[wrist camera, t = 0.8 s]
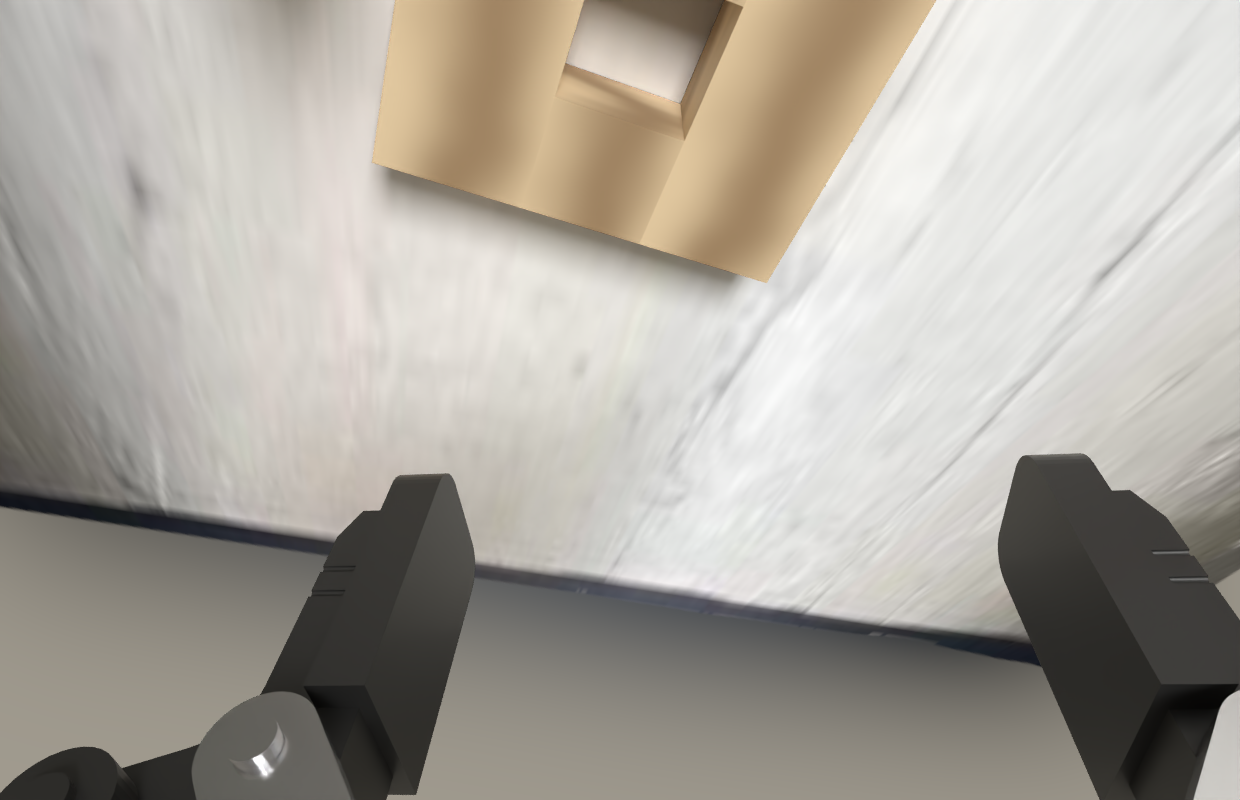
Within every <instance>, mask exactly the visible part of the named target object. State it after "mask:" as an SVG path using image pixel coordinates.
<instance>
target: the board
mask: <svg viewBox="0 0 1240 800" xmlns="http://www.w3.org/2000/svg"><path fill="white" fill-rule="evenodd" d="M935 2H936V0H724V2H723V4H722V6H721V9H720V11H719V13H718V16H717V18H716V21H715V23H714V25H713V28H712V30H711V32H710V35H709V37H708V40H707V42H706V44H705V47H704V49H703V51H702V54H701V56H700V59H699V61H698V63H697V66H696V68H695V70H694V73H693V75H692V78H691V80H690V82H689V85H688V87H687V89H686V92H685V94H684V97H683V99H682V101H681V104H679V103H676V102H673V101H670V100H667V99H665V98H662V97H659V96H656V95H653V94H651V93H648V92H645V91H642V90H639V89H636V88H634V87H631V86H628V85H625V84H622V83H619V82H617V81H614V80H611V79H608V78H605V77H602V76H600V75H597V74H594V73H591V72H588V71H585V70H583V69H580V68H577V67H574V66H571V65H569V64H566V63H565V62H566V59H567V55H568V52H569V49H570V45H571V42H572V39H573V36H574V32H575V29H576V26H577V22H578V19H579V16H580V12H581V9H582V6H583V3H584V0H395V5H394V12H393V19H392V26H391V33H390V40H389V47H388V54H387V61H386V68H385V75H384V82H383V89H382V96H381V103H380V110H379V117H378V124H377V131H376V138H375V145H374V152H373V159H372V163H375V164H378V165H381V166H385V167H388V168H391V169H394V170H398V171H401V172H404V173H408V174H411V175H414V176H417V177H421V178H424V179H427V180H430V181H434V182H437V183H440V184H444V185H447V186H450V187H453V188H457V189H460V190H463V191H467V192H470V193H473V194H476V195H480V196H483V197H486V198H489V199H493V200H496V201H499V202H503V203H506V204H509V205H512V206H516V207H519V208H522V209H526V210H529V211H532V212H535V213H539V214H542V215H545V216H548V217H552V218H555V219H558V220H562V221H565V222H568V223H571V224H575V225H578V226H581V227H585V228H588V229H591V230H594V231H598V232H601V233H604V234H608V235H611V236H614V237H617V238H621V239H624V240H627V241H630V242H634V243H637V244H640V245H644V246H647V247H650V248H653V249H657V250H660V251H663V252H667V253H670V254H673V255H676V256H680V257H683V258H686V259H689V260H693V261H696V262H699V263H703V264H706V265H709V266H712V267H716V268H719V269H722V270H726V271H729V272H732V273H735V274H739V275H742V276H745V277H748V278H752V279H755V280H758V281H762V282H765V283H767V282H768V280H769V278H770V277H771V275H772V273H773V272H774V270H775V268H776V267H777V265H778V263H779V262H780V260H781V258H782V257H783V255H784V253H785V252H786V250H787V248H788V247H789V245H790V243H791V242H792V240H793V238H794V237H795V235H796V233H797V232H798V230H799V228H800V227H801V225H802V223H803V222H804V220H805V218H806V217H807V215H808V213H809V212H810V210H811V208H812V207H813V205H814V203H815V202H816V200H817V198H818V197H819V195H820V193H821V192H822V190H823V188H824V187H825V185H826V183H827V182H828V180H829V178H830V177H831V175H832V173H833V172H834V170H835V168H836V167H837V165H838V163H839V162H840V160H841V158H842V157H843V155H844V153H845V152H846V150H847V148H848V147H849V145H850V143H851V142H852V140H853V138H854V137H855V135H856V133H857V132H858V130H859V128H860V127H861V125H862V123H863V122H864V120H865V118H866V117H867V115H868V113H869V112H870V110H871V108H872V107H873V105H874V103H875V102H876V100H877V98H878V97H879V95H880V93H881V92H882V90H883V88H884V87H885V85H886V83H887V82H888V80H889V78H890V77H891V75H892V73H893V72H894V70H895V68H896V67H897V65H898V63H899V62H900V60H901V58H902V57H903V55H904V53H905V52H906V50H907V48H908V47H909V45H910V43H911V42H912V40H913V38H914V37H915V35H916V33H917V32H918V30H919V28H920V27H921V25H922V23H923V22H924V20H925V18H926V17H927V15H928V13H929V12H930V10H931V8H932V7H933V5H934V3H935Z"/></svg>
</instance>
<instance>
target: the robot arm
mask: <svg viewBox="0 0 1240 800" xmlns="http://www.w3.org/2000/svg"><path fill="white" fill-rule="evenodd" d="M998 556H999V563H1000V568H1001V572H1002V576H1003V578H1004V581H1005V583H1006V586H1007V588H1008V590H1009V593H1010V595H1011V597H1012V599H1013V602H1014V604H1015V606H1016V609H1017V611H1018V613H1019V616H1020V618H1021V620H1022V622H1023V625H1024V627H1025V629H1026V632H1027V634H1028V636H1029V638H1030V641H1031V643H1032V645H1033V648H1034V650H1035V652H1036V655H1037V657H1038V659H1039V661H1040V664H1041V666H1042V668H1043V671H1044V673H1045V675H1046V677H1047V680H1048V682H1049V684H1050V687H1051V689H1052V691H1053V694H1054V696H1055V698H1056V700H1057V703H1058V705H1059V707H1060V710H1061V712H1062V714H1063V716H1064V719H1065V721H1066V723H1067V725H1068V728H1069V730H1070V732H1071V734H1072V737H1073V739H1074V742H1075V744H1076V746H1077V749H1078V751H1079V753H1080V755H1081V758H1082V760H1083V762H1084V765H1085V767H1086V769H1087V772H1088V774H1089V776H1090V779H1091V781H1092V783H1093V785H1094V788H1095V790H1096V792H1097V794H1098V797H1099V799H1100V800H1240V620H1239V618H1238V617H1237V616H1236V614H1235V613H1234V611H1233V610H1232V609H1231V607H1230V606H1229V604H1228V603H1227V602H1226V600H1225V599H1224V597H1223V596H1222V595H1221V593H1220V592H1219V590H1218V589H1217V588H1216V586H1215V585H1214V583H1209V581H1208V575H1207V574H1206V572H1205V571H1204V569H1203V568H1202V567H1201V565H1200V564H1199V562H1198V561H1197V559H1196V558H1195V557H1194V556H1190V554H1189V548H1188V547H1187V545H1186V544H1185V543H1184V541H1183V540H1182V538H1181V537H1180V536H1179V534H1178V533H1177V531H1176V530H1175V529H1174V527H1173V526H1172V524H1171V523H1170V522H1169V520H1168V519H1167V517H1165V516H1164V515H1163V514H1161V513H1160V512H1159V511H1157V510H1156V509H1155V508H1153V507H1152V506H1151V505H1149V504H1148V503H1147V502H1145V501H1144V500H1143V499H1141V498H1140V497H1139V496H1137V495H1136V494H1134V493H1133V492H1132V491H1130V490H1120V491H1112V490H1111V489H1110V487H1109V486H1108V484H1107V483H1106V481H1105V480H1104V478H1103V477H1102V475H1101V474H1100V472H1099V471H1098V469H1097V468H1096V466H1095V465H1094V463H1093V462H1092V460H1091V459H1090V458H1089V457H1088V456H1087V455H1085V454H1081V453H1079V454H1050V455H1025V456H1022V457H1021V458H1020V459H1019V461H1018V463H1017V466H1016V469H1015V473H1014V477H1013V481H1012V485H1011V489H1010V493H1009V496H1008V500H1007V504H1006V508H1005V512H1004V516H1003V520H1002V524H1001V528H1000V532H999V538H998ZM323 567H324V571H323V572H320V574H319V576H318V578H317V581H316V582H315V585H314V587H313V589H312V596H311V597H308V599H307V601H306V603H305V605H304V607H303V609H302V611H301V613H300V615H299V617H298V620H297V622H296V624H295V626H294V628H293V630H292V632H291V634H290V636H289V638H288V640H287V642H286V644H285V646H284V648H283V651H282V653H281V655H280V657H279V659H278V661H277V663H276V665H275V667H274V669H273V671H272V673H271V675H270V677H269V679H268V681H267V684H266V686H265V687H264V689H263V691H262V693H261V694H260V695H259V696H256V697H253V698H251V699H249V700H247V701H245V702H243V703H241V704H240V705H238V706H236V707H234V708H233V709H232V710H230V711H229V712H228V713H226V714H225V715H224V716H223V717H222V718H220V720H218V721H217V722H216V723H215V724H214V725H213V727H212V728H211V729H210V730H209V731H208V732H207V734H206V735H205V737H204V738H203V740H202V741H201V743H200V744H198V745H196V746H193V747H190V748H187V749H184V750H181V751H177V752H174V753H171V754H167V755H164V756H161V757H157V758H154V759H151V760H148V761H144V762H141V763H138V764H134V765H131V766H128V767H125V768H121V767H120V766H119V765H118V763H117V762H116V761H115V760H114V759H113V758H112V757H111V756H110V755H109V753H107V752H106V751H104V750H102V749H99V748H95V747H78V748H72V749H68V750H65V751H61V752H59V753H57V754H54V755H51V756H49V757H47V758H45V759H44V760H42V761H40V762H38V763H36V764H35V765H33V766H32V767H30V768H28V769H27V770H26V771H25V772H23V773H22V774H20V775H19V776H18V777H17V778H15V779H14V780H13V781H12V782H11V783H10V784H9V785H8V786H7V787H6V788H5V789H4V790H3V791H2V792H1V793H0V800H386V799H387V795H416V793H417V789H418V786H419V782H420V778H421V775H422V771H423V767H424V764H425V760H426V756H427V753H428V749H429V745H430V742H431V738H432V735H433V731H434V727H435V724H436V720H437V716H438V712H439V709H440V705H441V702H442V698H443V694H444V691H445V687H446V683H447V679H448V675H449V672H450V669H451V665H452V661H453V657H454V654H455V650H456V646H457V643H458V639H459V635H460V632H461V628H462V625H463V621H464V617H465V614H466V610H467V606H468V603H469V599H470V595H471V592H472V588H473V583H474V575H475V556H474V548H473V544H472V540H471V537H470V533H469V530H468V526H467V523H466V519H465V516H464V513H463V509H462V506H461V502H460V499H459V495H458V492H457V488H456V485H455V482H454V480H453V478H452V476H451V475H450V474H420V475H400V476H398V477H396V478H395V480H394V481H393V483H392V485H391V488H390V490H389V492H388V494H387V497H386V499H385V501H384V503H383V506H382V508H381V510H380V511H363V512H362V513H361V514H360V515H359V516H358V517H357V518H356V519H355V520H354V521H353V522H352V523H351V524H350V525H349V526H348V527H347V528H346V529H345V530H344V531H343V532H342V533H341V534H340V535H339V536H338V537H337V539H336V541H335V543H334V545H333V547H332V549H331V551H330V554H329V556H328V558H327V560H326V562H325V564H324V566H323Z"/></svg>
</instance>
